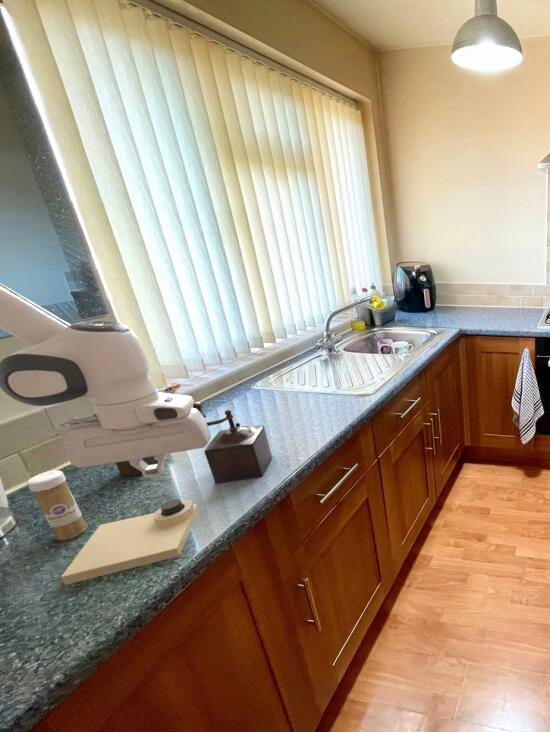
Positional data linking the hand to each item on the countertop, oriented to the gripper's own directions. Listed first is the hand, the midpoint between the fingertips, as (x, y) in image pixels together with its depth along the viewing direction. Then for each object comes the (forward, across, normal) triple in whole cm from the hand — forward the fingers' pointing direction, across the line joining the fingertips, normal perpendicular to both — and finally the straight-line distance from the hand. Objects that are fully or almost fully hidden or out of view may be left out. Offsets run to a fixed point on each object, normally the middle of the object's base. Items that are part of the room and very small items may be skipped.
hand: (155, 474), depth 78 cm
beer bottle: (+12, -14, +29) cm, 35 cm away
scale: (+12, -4, -4) cm, 13 cm away
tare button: (+9, +1, 0) cm, 9 cm away
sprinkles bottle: (+12, -18, +5) cm, 22 cm away
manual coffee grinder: (+12, +8, +18) cm, 23 cm away
